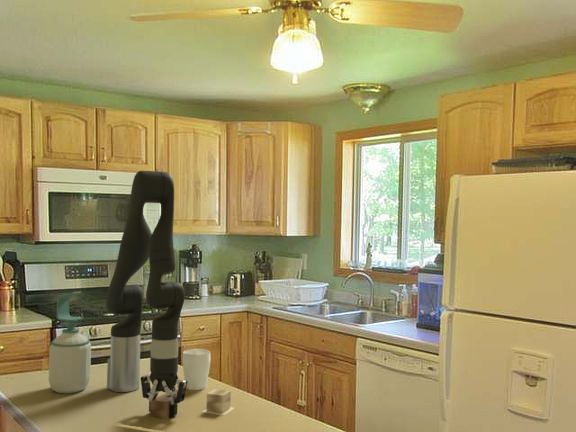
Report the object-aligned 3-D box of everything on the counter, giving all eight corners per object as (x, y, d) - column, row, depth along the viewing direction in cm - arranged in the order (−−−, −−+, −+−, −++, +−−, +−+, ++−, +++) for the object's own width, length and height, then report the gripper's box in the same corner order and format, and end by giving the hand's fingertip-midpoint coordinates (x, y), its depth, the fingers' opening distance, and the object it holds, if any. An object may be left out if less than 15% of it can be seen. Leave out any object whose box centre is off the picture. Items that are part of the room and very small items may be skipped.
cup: (204, 394, 181) (205, 355, 181) (177, 391, 183) (178, 354, 183) (213, 386, 190) (214, 349, 190) (187, 384, 192) (188, 347, 192)
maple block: (206, 411, 163) (206, 393, 163) (214, 405, 168) (215, 388, 168) (222, 413, 162) (222, 395, 162) (230, 408, 166) (230, 390, 166)
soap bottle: (71, 397, 175) (74, 294, 176) (39, 392, 180) (41, 292, 180) (98, 386, 187) (100, 290, 187) (67, 382, 191) (69, 288, 191)
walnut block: (150, 419, 158) (150, 400, 158) (160, 413, 163) (160, 395, 163) (165, 421, 156) (166, 403, 156) (175, 416, 161) (176, 398, 161)
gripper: (134, 354, 159) (133, 416, 159) (179, 360, 154) (178, 423, 154) (150, 349, 166) (148, 408, 166) (194, 354, 161) (192, 414, 161)
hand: (163, 415), depth 160 cm, fingers open, 5 cm apart
